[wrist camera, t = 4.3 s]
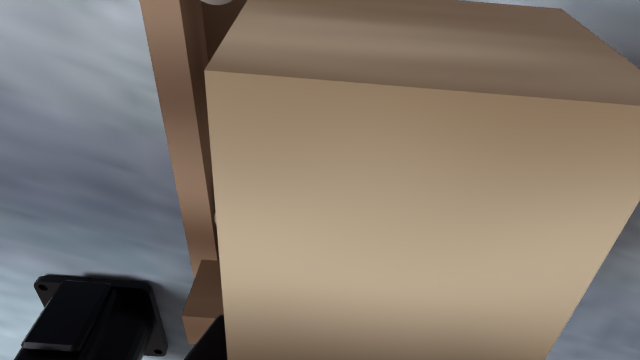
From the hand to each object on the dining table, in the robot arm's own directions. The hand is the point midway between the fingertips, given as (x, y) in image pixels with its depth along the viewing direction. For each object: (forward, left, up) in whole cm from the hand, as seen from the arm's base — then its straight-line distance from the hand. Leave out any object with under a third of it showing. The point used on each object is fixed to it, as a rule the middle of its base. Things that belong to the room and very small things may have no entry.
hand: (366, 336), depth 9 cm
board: (0, 0, -2) cm, 2 cm away
